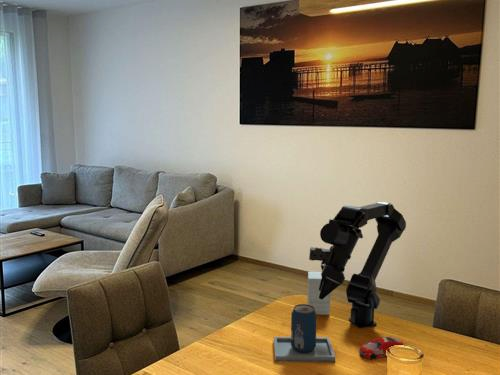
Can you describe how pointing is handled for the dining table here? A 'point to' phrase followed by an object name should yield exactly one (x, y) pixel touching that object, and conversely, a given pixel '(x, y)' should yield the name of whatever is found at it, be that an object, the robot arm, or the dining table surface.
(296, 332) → the soda can
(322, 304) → the supplement box
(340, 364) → the dining table surface
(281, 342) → the tray
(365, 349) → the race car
